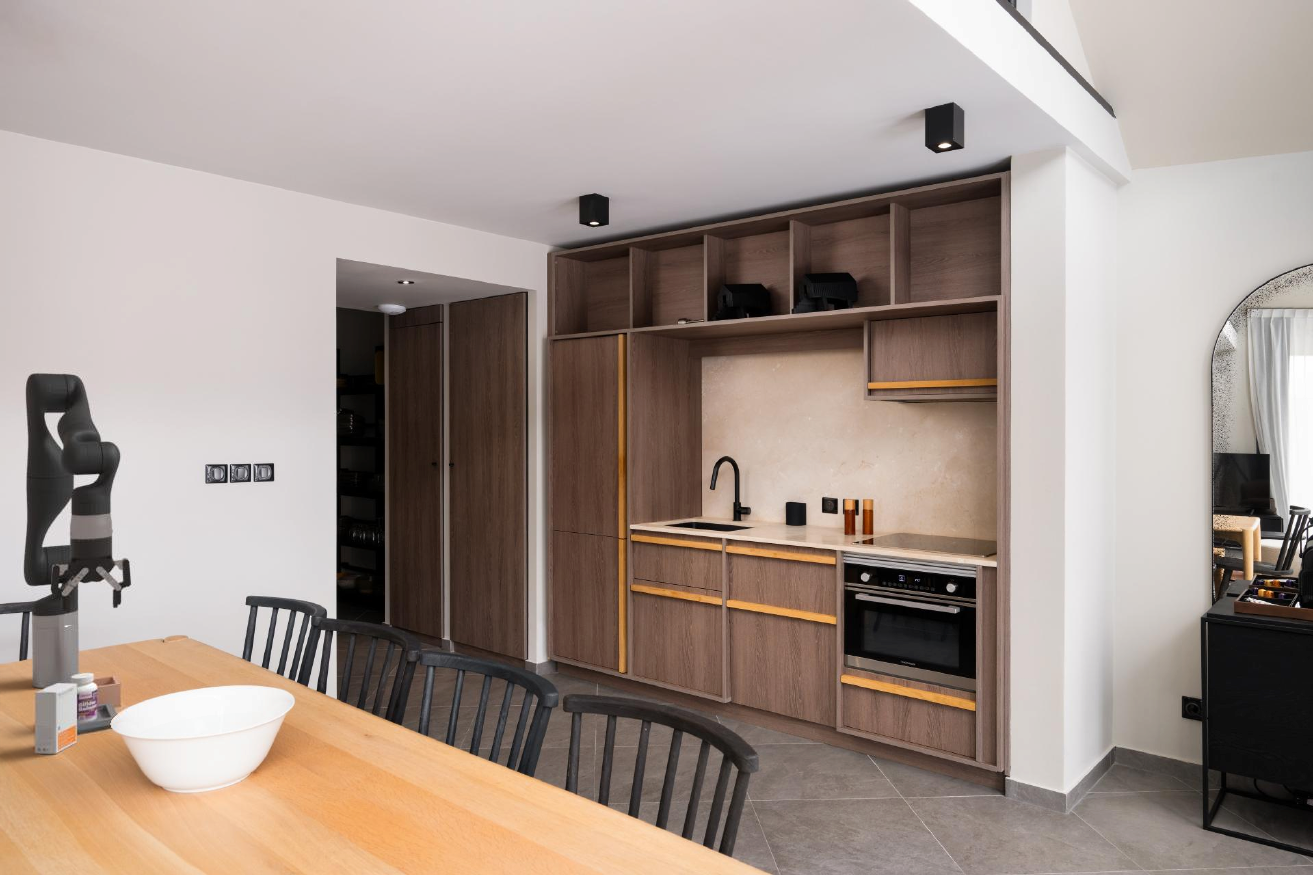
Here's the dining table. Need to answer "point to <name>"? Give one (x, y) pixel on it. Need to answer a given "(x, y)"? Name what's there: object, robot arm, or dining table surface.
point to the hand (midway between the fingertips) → (91, 609)
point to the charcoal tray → (98, 720)
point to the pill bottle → (85, 697)
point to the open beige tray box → (108, 690)
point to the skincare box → (55, 718)
